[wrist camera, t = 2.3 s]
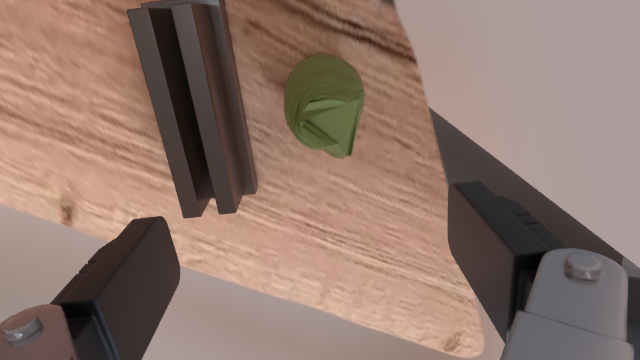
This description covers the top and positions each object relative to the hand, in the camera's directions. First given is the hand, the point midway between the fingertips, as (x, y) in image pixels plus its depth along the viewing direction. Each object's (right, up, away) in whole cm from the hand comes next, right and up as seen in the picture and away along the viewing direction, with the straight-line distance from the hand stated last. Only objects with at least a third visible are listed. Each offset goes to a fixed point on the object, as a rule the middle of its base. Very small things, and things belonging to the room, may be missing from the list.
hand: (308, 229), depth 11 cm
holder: (-8, +7, +18) cm, 21 cm away
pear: (+1, +8, +18) cm, 20 cm away
